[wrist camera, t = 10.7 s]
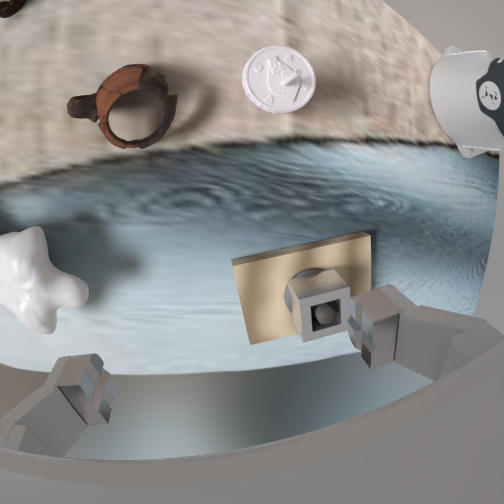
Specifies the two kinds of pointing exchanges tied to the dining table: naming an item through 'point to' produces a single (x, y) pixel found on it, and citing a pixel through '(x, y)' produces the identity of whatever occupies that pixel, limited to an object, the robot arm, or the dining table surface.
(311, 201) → the dining table surface
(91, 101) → the brown hollow curved piece
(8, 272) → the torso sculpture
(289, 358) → the dining table surface
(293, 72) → the smoothie
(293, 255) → the post block
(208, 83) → the dining table surface
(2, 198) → the dining table surface
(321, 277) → the grey hollow square block
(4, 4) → the coffee mug
